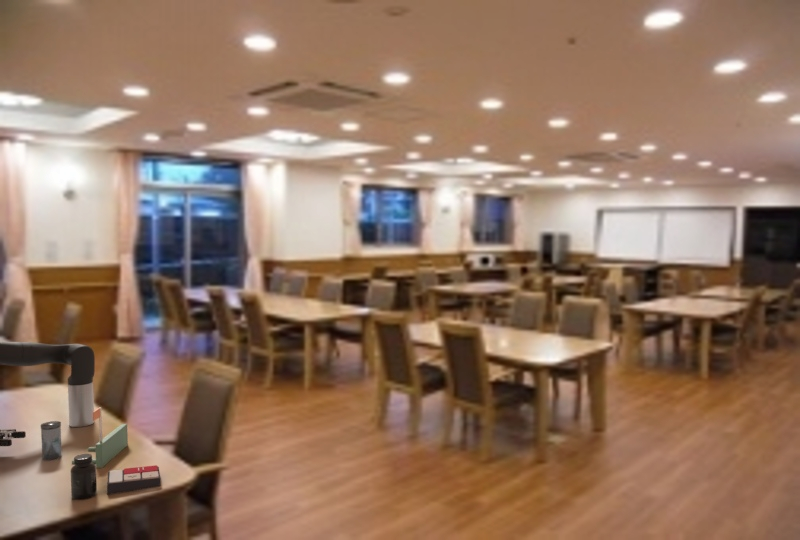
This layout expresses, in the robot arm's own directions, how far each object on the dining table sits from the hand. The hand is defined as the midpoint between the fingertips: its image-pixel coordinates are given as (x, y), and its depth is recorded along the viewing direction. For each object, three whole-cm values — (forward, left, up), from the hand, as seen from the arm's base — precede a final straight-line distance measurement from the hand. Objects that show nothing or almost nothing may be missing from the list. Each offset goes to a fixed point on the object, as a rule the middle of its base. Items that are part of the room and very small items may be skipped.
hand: (18, 438), depth 214 cm
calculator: (+25, +49, -8) cm, 56 cm away
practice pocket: (+1, +27, -7) cm, 28 cm away
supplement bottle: (+33, +37, -7) cm, 50 cm away
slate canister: (0, +11, -7) cm, 13 cm away
